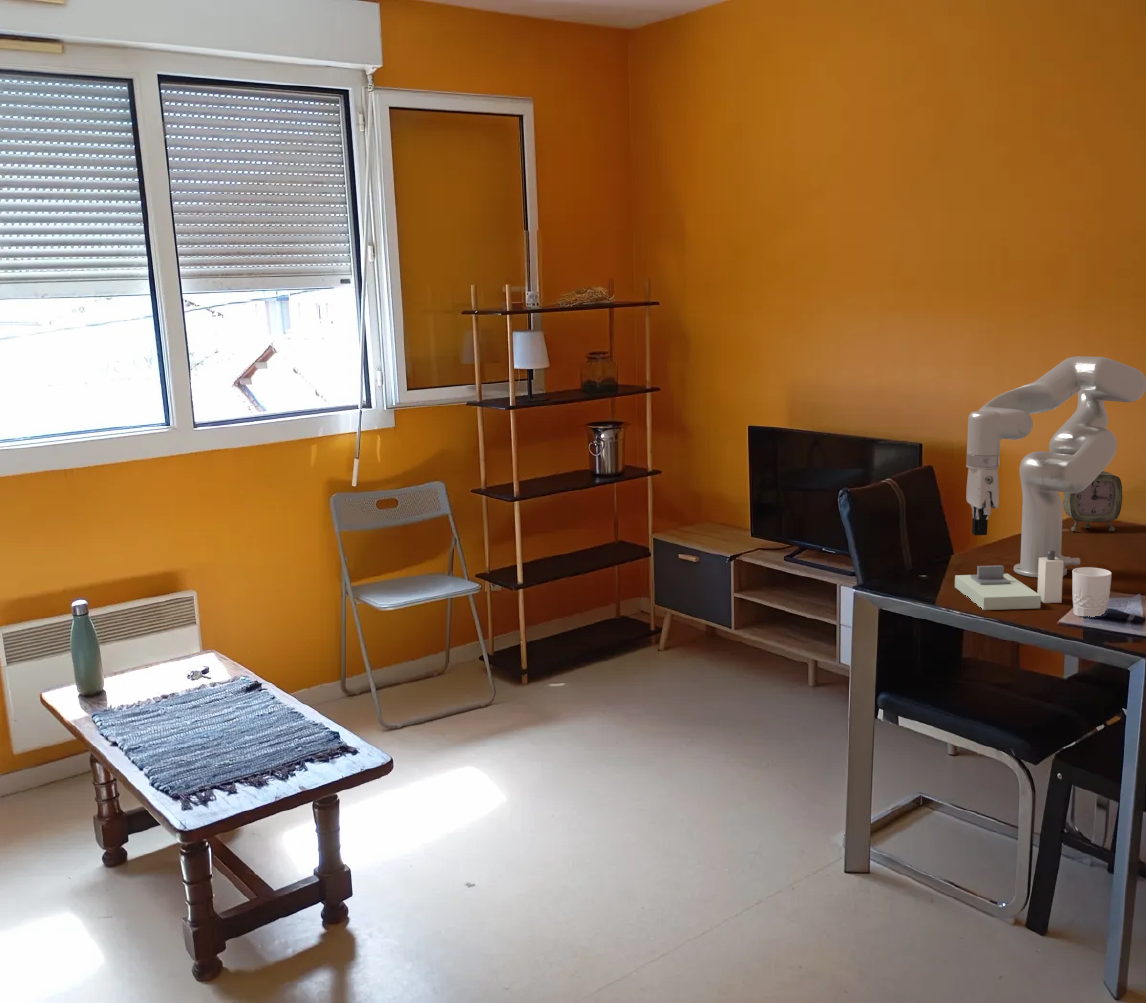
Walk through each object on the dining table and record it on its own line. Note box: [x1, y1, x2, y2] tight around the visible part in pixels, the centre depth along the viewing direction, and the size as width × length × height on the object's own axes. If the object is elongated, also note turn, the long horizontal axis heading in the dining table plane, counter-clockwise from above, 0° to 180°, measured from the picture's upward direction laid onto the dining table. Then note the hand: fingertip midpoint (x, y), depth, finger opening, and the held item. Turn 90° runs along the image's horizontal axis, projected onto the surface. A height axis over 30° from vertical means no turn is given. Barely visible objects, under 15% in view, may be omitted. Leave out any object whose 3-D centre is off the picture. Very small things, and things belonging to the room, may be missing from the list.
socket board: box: [954, 573, 1042, 611], centre depth 250 cm, size 13×20×3 cm, turn 178°
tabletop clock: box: [1062, 470, 1123, 532], centre depth 312 cm, size 14×9×25 cm, turn 80°
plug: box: [1036, 550, 1064, 604], centre depth 245 cm, size 4×4×12 cm
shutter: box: [970, 564, 1010, 585], centre depth 253 cm, size 7×7×4 cm
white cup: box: [1071, 566, 1113, 617], centre depth 233 cm, size 8×8×10 cm
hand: (979, 534), depth 258 cm, fingers closed
